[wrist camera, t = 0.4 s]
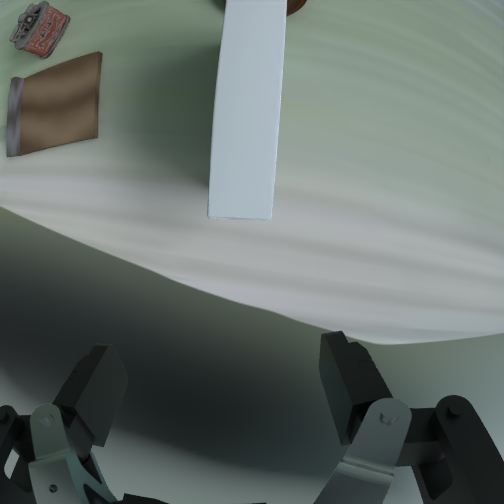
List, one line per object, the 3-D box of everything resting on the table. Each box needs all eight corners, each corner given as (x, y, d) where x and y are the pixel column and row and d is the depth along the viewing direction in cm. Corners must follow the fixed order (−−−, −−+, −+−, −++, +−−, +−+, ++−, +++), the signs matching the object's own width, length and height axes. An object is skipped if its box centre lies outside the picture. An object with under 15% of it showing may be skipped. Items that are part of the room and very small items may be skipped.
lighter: (61, 15, 25) (29, -4, 15) (74, 16, 25) (42, -5, 16) (38, 57, 27) (0, 45, 17) (50, 59, 27) (12, 45, 18)
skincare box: (259, 196, 36) (271, 225, 21) (216, 193, 36) (198, 220, 21) (271, 43, 30) (289, -20, 15) (229, 40, 29) (222, -25, 14)
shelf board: (22, 82, 28) (9, 79, 24) (102, 53, 28) (91, 46, 25) (18, 156, 32) (4, 157, 29) (97, 137, 33) (85, 136, 29)
